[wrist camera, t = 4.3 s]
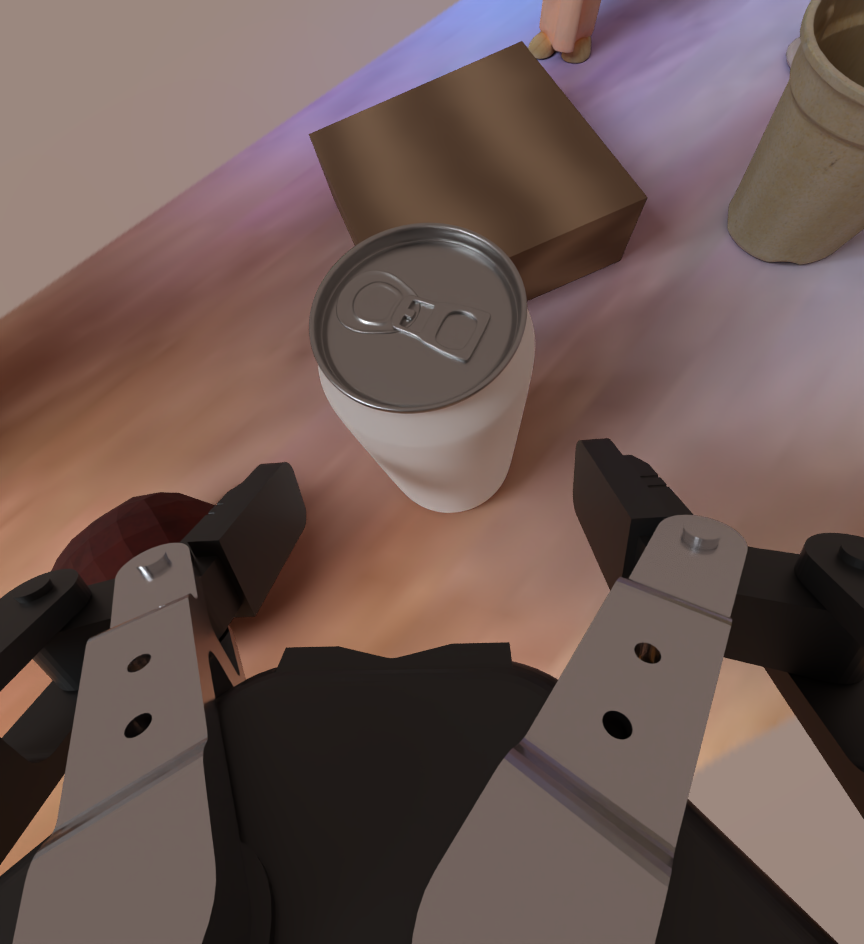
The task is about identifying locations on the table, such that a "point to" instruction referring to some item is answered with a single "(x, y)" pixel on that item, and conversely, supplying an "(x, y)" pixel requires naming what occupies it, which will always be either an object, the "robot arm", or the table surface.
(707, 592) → the robot arm
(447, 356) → the can
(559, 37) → the grandmother figurine
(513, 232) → the walnut block
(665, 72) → the table surface
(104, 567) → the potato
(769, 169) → the flower pot
